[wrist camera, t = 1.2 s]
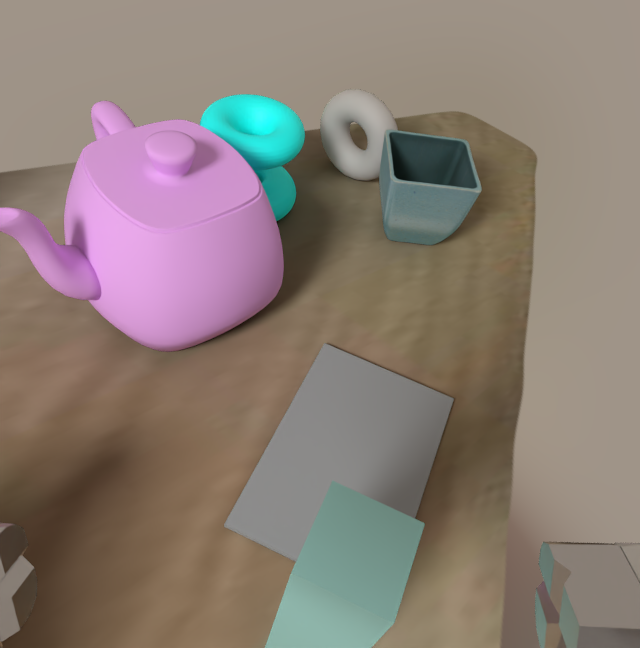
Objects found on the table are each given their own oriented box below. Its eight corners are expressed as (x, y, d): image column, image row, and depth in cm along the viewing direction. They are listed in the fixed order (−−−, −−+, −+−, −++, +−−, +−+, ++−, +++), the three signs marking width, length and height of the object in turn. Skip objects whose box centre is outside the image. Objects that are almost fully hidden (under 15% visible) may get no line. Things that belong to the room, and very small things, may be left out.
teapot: (184, 183, 64) (180, 43, 53) (306, 309, 55) (333, 174, 44) (-42, 259, 53) (-109, 103, 41) (66, 434, 44) (18, 296, 32)
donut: (392, 189, 69) (416, 110, 61) (375, 201, 67) (397, 121, 59) (326, 148, 72) (341, 68, 65) (308, 158, 70) (320, 78, 63)
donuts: (299, 91, 60) (313, 150, 54) (288, 173, 68) (299, 233, 62) (198, 85, 58) (200, 145, 52) (199, 170, 66) (201, 231, 60)
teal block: (328, 692, 36) (393, 623, 24) (261, 657, 36) (291, 572, 24) (355, 618, 39) (425, 523, 27) (292, 587, 39) (332, 480, 27)
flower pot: (366, 197, 67) (384, 126, 60) (442, 207, 68) (468, 138, 61) (370, 251, 62) (391, 180, 55) (452, 261, 63) (483, 192, 56)
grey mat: (385, 605, 39) (387, 604, 39) (224, 526, 41) (224, 524, 41) (452, 401, 51) (454, 398, 51) (323, 345, 53) (324, 342, 52)
